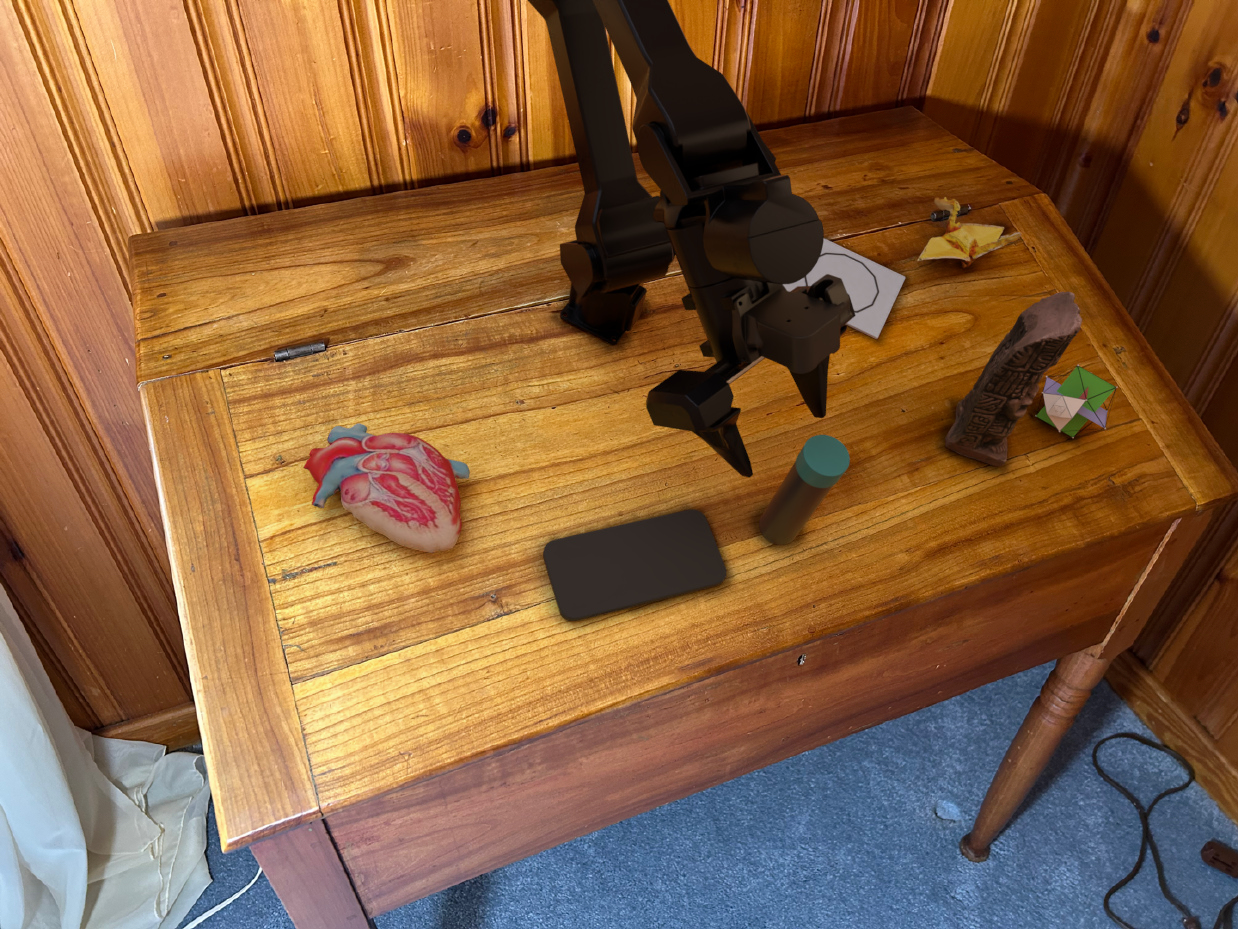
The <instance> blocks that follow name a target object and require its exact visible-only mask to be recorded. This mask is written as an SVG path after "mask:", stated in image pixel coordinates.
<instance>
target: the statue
mask: <svg viewBox="0 0 1238 929" xmlns="http://www.w3.org/2000/svg"><path fill="white" fill-rule="evenodd" d="M1075 300H1076V295H1075V293H1073V292H1071V291H1060V292H1059V291H1058V292H1055V293H1054V294H1052V295H1050V296H1047V297H1042V298H1041V299H1040V300H1039V301H1038V302H1034V303H1033V304H1032V305H1030V306H1029V307H1027V308H1026V309H1025V310H1023V311H1022V312H1021V313H1019V315H1018V317H1017V319H1016V321H1015V323H1014V324H1013V326H1012V328H1011V329H1010V330H1009V332H1007V333H1006V334H1005V335H1004V337H1003V339H1001V341H1000V343H999V344H998V345H997V347H996V348H995V349H994V350H993V352H992V354H991V356H990V357H989V359H988V361H987V362H986V364H985V366H984V368H983V370H982V372H981V374H980V375H979V376H978V378H977V380H976V381H975V383H974V384H973V387H972V389H971V390H969V391H968V393H967V394H966V395H964V398H963V399H961V400H959V401H957V404H956V409H955V412H954V413H955V421H954V423H953V424H952V426H951V427H950V429H949V431H948V432H947V434H946V436H945V437H944V440H945V447H946V448H947V449H949V450H950V451H952V452H954V453H956V454H958V455H961V456H964V457H966V458H969V459H973V460H977V461H979V462H982V463H984V464H988V465H990V466H993V467H1003V466H1005V464H1006V462H1007V459H1008V437H1010V436H1011V434H1012V433H1013V430H1014V429H1015V427H1016V425H1017V423H1018V421H1019V420H1020V419H1022V418H1023V417H1024V416H1025V415H1026V414H1027V410H1028V407H1029V406H1031V405H1032V404H1033V400H1034V398H1035V397H1036V396H1037V394H1038V393H1039V391H1040V385H1039V384H1040V383H1041V380H1042V379H1043V378H1044V373H1045V374H1046V373H1047V372H1048V371H1049V369H1050V368H1052V367H1054V366H1056V365H1057V364H1058V363H1059V361H1060V359H1061V358H1062V356H1063V355H1064V354H1065V352H1066V350H1067V348H1068V347H1069V346H1070V344H1071V343H1072V341H1073V339H1074V338H1075V337H1077V335H1078V333H1079V332H1080V330H1081V329H1082V328H1081V326H1082V322H1083V318H1082V317H1081V315H1080V314H1081V309H1080V307H1079V306H1078V304H1077V303H1076V302H1075Z"/></svg>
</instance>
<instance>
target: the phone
mask: <svg viewBox="0 0 1238 929" xmlns="http://www.w3.org/2000/svg"><path fill="white" fill-rule="evenodd" d="M542 557H543V562H544V565H545V569H546V573H547V575H548V578H549V582H550V585H551V589H552V593H553V596H554V598H555V601H556V605H557V608H558V611H559V613H560V615H561V617H562V618H563V619H565V620H566V621H569V622H579V621H583V620H588V619H591V618H595V617H599V616H603V615H607V614H610V613H615V612H619V611H623V610H627V609H631V608H632V609H633V608H635V607H640V606H643V605H648V604H652V603H655V602H659V601H664V600H667V599H671V598H676V597H679V596H683V595H687V594H690V593H695V592H699V591H703V590H707V589H711V588H714V587H718V586H719V585H721V584H722V583H724V581H725V579H726V578H727V575H728V574H727V572H728V571H727V567H726V565H725V561H724V560H723V556H722V554H721V552H720V550H719V546H718V544H717V542H716V540H715V536H714V534H713V532H712V529H711V526H710V524H709V522H708V519H707V517H706V516H705V514H704V513H703V512H702V511H700V510H698V509H686V510H680V511H676V512H672V513H667V514H664V515H663V514H662V515H658V516H653V517H650V518H645V519H641V520H637V521H632V522H627V523H623V524H618V525H614V526H610V527H605V528H601V529H600V528H599V529H597V530H596V529H595V530H592V531H588V532H583V533H578V534H574V535H570V536H564V537H561V538H560V537H559V538H556V539H553V540H550V541H549V542H547V543H546V544H545V545H544V547H543V552H542Z"/></svg>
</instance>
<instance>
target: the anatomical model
mask: <svg viewBox="0 0 1238 929" xmlns="http://www.w3.org/2000/svg"><path fill="white" fill-rule="evenodd" d="M326 441H327V443H328V446H326V447H315V448H311V450H310V451H309V453H308V455H309V458H308V459H307V460H306V462H305V463H304V466H303V469H304V470H307V471H309V473H310V475H311V477H312V478H313V480H314V481H315V482H316V484H318V486H317V487H316V489H315V491H314V493H313V495H312V501H311V506H313V507H315V508H319V509H324V508H325V505H326V503H327V500H328V499H329V498H331V497H332V496H334V495H335V494H336V493H338V492H340V499H341V500H340V502H341V505H342V507H343V508H344V510H346V511H347V512H350V513H351V514H352V516H353V517H354V518H355V519H357V520H358V521H359V522H361V523H362V524H364V525H365V526H367V527H368V528H369V529H370V530H371V531H374V532H375V533H378V534H381V535H383V536H385V537H386V538H388V539H389V541H391V542H393V543H395V544H397V545H399V546H402V547H404V548H408V549H412V550H414V551H421V552H424V553H431V554H433V553H435V552H438V551H442V552H444V551H449V550H451V549H452V548H454V547H455V546H456V544H457V541H458V540H459V537H460V534H461V532H462V527H463V523H462V517H461V506H462V501H461V493H460V490H459V486H458V482H457V480H469V479H470V473H471V471H470V468H469V466H468V464H467V463H465V462H463V461H460V460H453V459H449V458H446V457H445V456H444V455H443V454H442V453H441V452H440V451H439V450H438V449H437V448H436V447H435V446H434V445H432V444H431V443H429V442H427V441H425V440H424V439H422V438H420V437H419V436H415V435H413V434H409V433H403V432H388V433H382V434H379V435H375V434H372V433H369V432H368V426H366V425H365V424H363V423H361V422H360V423H359V422H358V423H355V424H354V425H352V427H344V426H341V425H336V426H333V428H331V430H330V432H329V433H328V435H327V439H326Z"/></svg>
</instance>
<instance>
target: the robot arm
mask: <svg viewBox="0 0 1238 929" xmlns="http://www.w3.org/2000/svg"><path fill="white" fill-rule="evenodd" d="M527 2H528V3H529V4H530V5H531V6H532V8H534V10H535V11H536V12H537V13H538V14H539V15H540V16H541V17H542V18H543V20H544V21H545V24H546V28H547V33H548V36H549V42H550V45H551V50H552V54H553V58H554V63H555V67H556V71H557V76H558V81H559V85H560V89H561V94H562V98H563V103H564V107H565V111H566V117H567V121H568V125H569V130H570V134H571V138H572V142H573V146H574V151H575V154H576V159H577V165H578V168H579V169H578V170H579V172H580V173H579V174H580V177H581V182H582V186H583V191H584V195H583V198H582V200H581V201H582V202H581V204H580V207H579V211H578V214H577V217H576V222H575V224H574V232H575V240H570V241H566V242H562V243H559V256H560V257H559V259H560V265H561V266H562V268H563V270H564V272H565V274H566V276H567V277H568V279H569V281H570V289H569V296H568V300H567V302H566V304H565V306H564V307H563V308H562V310H561V311H560V313H559V318H560V320H561V321H563V322H565V323H567V324H569V325H571V326H573V327H575V328H577V329H579V330H581V331H582V332H584V333H587V334H589V335H590V336H592V337H595V338H596V339H599V340H601V341H602V342H605V343H607V344H609V345H611V346H617V345H618V344H619V343H620V341H621V340H622V338H623V337H624V335H625V334H626V333H628V332H631V331H632V329H633V328H634V327H635V325H636V323H637V322H638V321H639V319H640V318H641V316H642V312H643V308H644V305H645V300H646V297H647V292H648V290H647V288H646V287H645V286H644V283H648V282H652V281H654V280H658V279H662V278H664V277H666V275H667V274H668V272H669V267H670V265H671V264H672V263H673V262H674V260H675V258H676V260H677V263H678V265H679V268H680V271H681V274H682V277H683V278H684V281H685V284H686V286H687V289H688V292H689V293H687V294H686V295H684V296H682V297H681V303H682V305H683V307H684V311H696V313H697V316H698V318H699V321H700V324H701V326H702V329H703V332H704V334H705V337H706V339H707V340H705V341H704V342H702V343H701V344H699V345H698V346H699V350H700V352H701V354H702V357H703V358H714V360H715V363H714V364H712V365H711V366H710V367H708V368H707V369H705V370H704V371H702V370H689V369H678V370H677V371H675V372H674V373H672V374H671V375H669V376H668V377H667V378H665V379H664V380H663V381H661V382H660V383H658V384H657V385H655V386H653V388H651V389H650V390H648V393H647V396H646V399H645V408H646V410H647V413H648V415H649V418H650V420H651V422H652V424H653V426H654V427H655V426H656V427H661V428H667V429H675V430H681V431H686V432H691V433H693V434H694V435H696V436H697V437H699V438H700V440H702V441H704V442H705V444H707V445H708V446H709V447H710V448H712V450H713V451H714V452H715V453H716V454H718V456H720V458H722V459H723V460H724V461H725V462H726V463H727V464H728V465H729V466H731V467H732V469H734V470H735V472H737V473H738V474H739V475H740V476H741V477H744V478H749V479H750V478H751V477H752V476H754V472H753V467H752V463H751V460H750V456H749V454H748V451H747V449H746V446H745V443H744V441H743V438H742V436H741V432H740V430H739V427H738V425H737V423H738V420H739V417H740V414H741V412H742V408H741V407H736V406H735V407H734V406H732V405H733V402H734V397H735V396H734V393H733V390H732V388H731V384H732V383H734V382H735V381H736V380H738V379H739V378H741V377H742V376H743V375H744V374H746V373H747V372H748V371H750V370H752V369H753V368H754V367H756V366H757V365H758V364H760V363H761V362H763V360H765V359H766V360H769V361H772V362H774V363H777V364H779V365H781V366H783V367H785V368H786V369H787V370H788V371H789V373H790V375H791V378H792V379H793V381H794V383H795V386H796V387H797V390H798V392H799V393H800V395H801V398H802V399H803V402H804V403H805V405H806V407H807V408H808V410H809V412H810V413H811V415H812V417H814V418H816V419H824V418H825V417H826V416H827V404H828V402H827V401H828V380H829V379H828V377H829V364H830V357H831V354H833V355H834V354H836V353H837V352H838V351H839V350H840V348H841V337H842V336H843V335H844V334H846V332H847V330H848V325H846V323H847V322H849V321H850V320H851V319H852V318H853V317H855V316H856V315H855V312H854V309H853V305H852V302H851V299H850V295H849V294H848V293H847V291H846V289H845V286H844V284H843V281H842V279H841V278H838V277H835V276H832V275H829V274H826V275H825V276H823V277H822V278H820V279H819V280H818V281H816V282H815V283H813V284H812V285H811V286H797V287H796V288H795V289H793V290H792V291H790V292H789V291H787V290H786V289H785V287H784V286H783V284H792V283H795V282H797V281H799V280H801V279H802V278H804V277H805V276H806V275H807V274H808V273H809V272H811V271H812V269H813V268H814V266H815V265H816V263H817V262H818V259H819V257H820V254H821V252H822V247H823V242H824V239H825V237H824V236H825V235H824V234H825V233H824V225H823V222H822V220H821V219H820V218H819V215H818V213H817V210H815V208H814V207H813V206H812V204H811V203H810V202H809V201H808V200H806V198H804V197H802V196H799V195H797V194H794V193H793V190H792V182H791V181H792V180H791V177H790V175H789V174H781V171H780V170H779V168H778V166H777V164H776V161H777V157H776V156H775V155H774V153H773V152H772V151H771V149H770V148H769V146H768V145H767V144H766V143H765V141H764V140H763V138H762V136H761V134H760V133H759V131H758V130H757V128H756V126H755V124H754V122H753V120H752V119H751V118H752V117H750V115H749V112H747V110H746V108H745V106H744V104H743V103H742V101H741V99H740V98H739V96H738V94H737V93H736V91H735V90H734V89H733V87H732V86H731V84H730V83H729V81H728V80H727V78H726V76H725V75H724V74H723V73H722V72H720V71H719V70H717V69H716V68H714V67H712V66H711V65H709V64H708V63H707V62H705V61H703V60H702V59H700V58H699V57H697V55H696V53H695V52H694V50H693V49H692V46H690V44H689V42H688V39H687V37H686V35H685V33H684V31H683V29H682V27H681V24H680V23H679V20H678V18H677V16H676V14H675V11H674V10H673V8H672V5H671V3H670V1H669V0H527ZM607 34H608V35H607ZM608 38H610V41H611V43H612V45H613V47H614V50H615V52H616V54H617V56H618V59H619V60H620V63H621V65H622V67H623V69H624V72H625V74H626V77H627V78H628V80H629V83H630V85H631V87H632V91H633V93H634V96H635V99H636V101H635V106H634V113H633V118H632V125H631V130H632V133H633V136H634V138H635V141H636V147H637V154H638V158H639V161H640V164H641V165H642V168H643V170H644V171H645V173H646V174H647V176H648V177H649V178H650V179H651V180H652V181H653V182H654V184H655V185H656V186H657V187H658V188H659V190H660V191H659V195H654V196H653V195H651V193H650V192H649V191H648V190H647V189H646V188H645V186H644V185H643V184H642V183H641V182H640V181H639V180H638V175H637V172H636V167H635V161H634V157H633V152H632V147H631V142H630V138H629V132H628V129H627V124H626V120H625V114H624V109H623V105H622V101H621V95H620V92H619V87H618V86H619V85H618V82H617V77H616V72H615V67H614V63H613V58H612V53H611V49H610V44H609V40H608Z"/></svg>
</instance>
